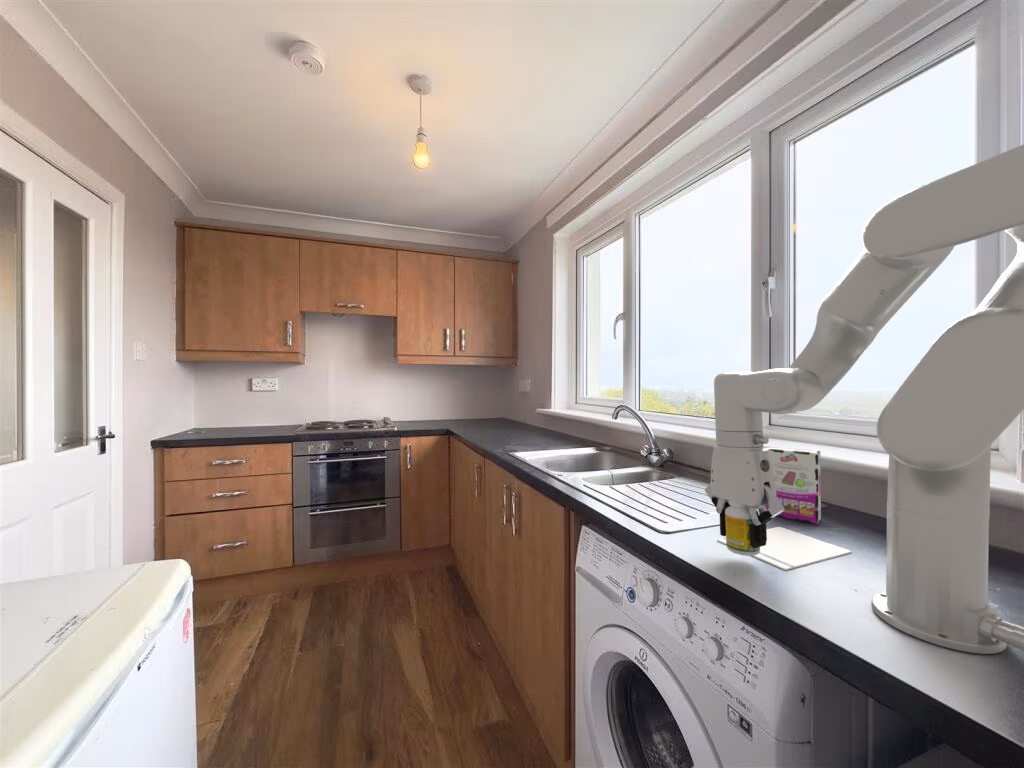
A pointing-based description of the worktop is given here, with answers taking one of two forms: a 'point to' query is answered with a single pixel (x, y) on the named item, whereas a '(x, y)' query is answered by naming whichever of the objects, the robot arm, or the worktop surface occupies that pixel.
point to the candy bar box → (797, 483)
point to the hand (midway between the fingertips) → (742, 539)
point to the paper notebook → (794, 549)
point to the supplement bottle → (739, 529)
